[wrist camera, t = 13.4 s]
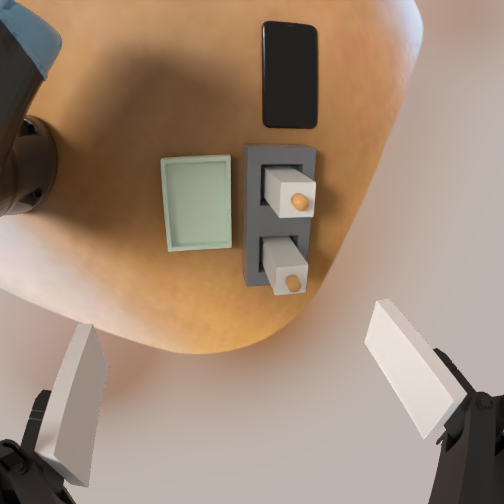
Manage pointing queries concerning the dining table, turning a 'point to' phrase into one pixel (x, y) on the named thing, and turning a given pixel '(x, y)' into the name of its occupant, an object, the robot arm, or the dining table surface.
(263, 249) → the plug
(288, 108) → the smartphone
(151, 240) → the dining table surface
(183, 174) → the tray
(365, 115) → the dining table surface
